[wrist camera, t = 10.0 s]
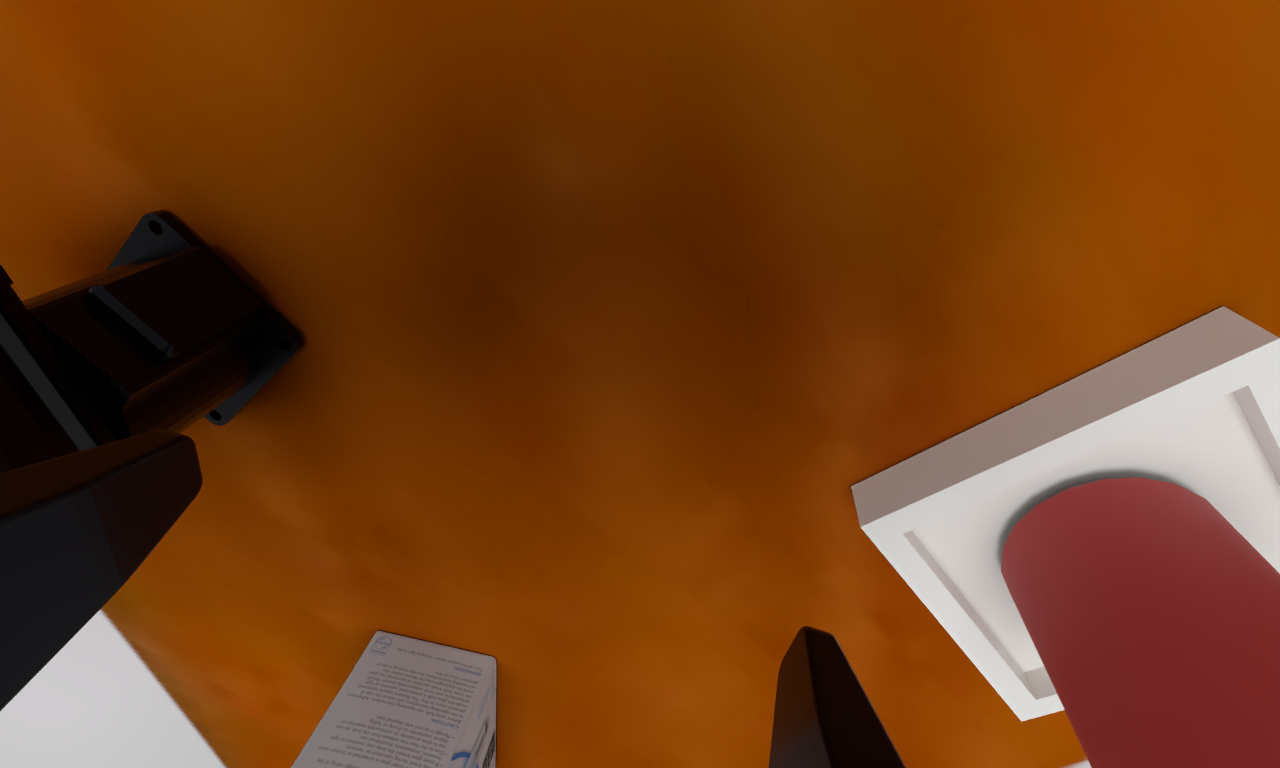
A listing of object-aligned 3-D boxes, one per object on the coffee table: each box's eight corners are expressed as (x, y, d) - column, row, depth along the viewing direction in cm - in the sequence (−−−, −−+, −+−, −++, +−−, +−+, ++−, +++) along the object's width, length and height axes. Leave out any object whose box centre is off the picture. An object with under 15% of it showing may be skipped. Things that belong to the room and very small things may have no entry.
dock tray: (1001, 672, 26) (1021, 721, 24) (851, 486, 23) (860, 527, 21) (1348, 565, 21) (1407, 617, 19) (1223, 305, 18) (1280, 338, 16)
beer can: (1210, 597, 22) (1635, 1112, 11) (1004, 619, 24) (1203, 1075, 13) (1218, 447, 19) (1787, 946, 9) (983, 487, 21) (1216, 932, 10)
